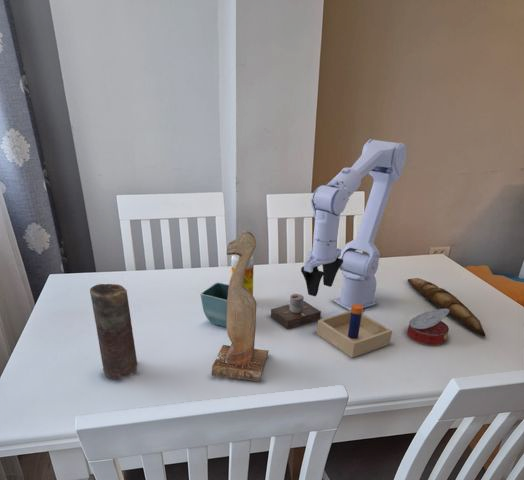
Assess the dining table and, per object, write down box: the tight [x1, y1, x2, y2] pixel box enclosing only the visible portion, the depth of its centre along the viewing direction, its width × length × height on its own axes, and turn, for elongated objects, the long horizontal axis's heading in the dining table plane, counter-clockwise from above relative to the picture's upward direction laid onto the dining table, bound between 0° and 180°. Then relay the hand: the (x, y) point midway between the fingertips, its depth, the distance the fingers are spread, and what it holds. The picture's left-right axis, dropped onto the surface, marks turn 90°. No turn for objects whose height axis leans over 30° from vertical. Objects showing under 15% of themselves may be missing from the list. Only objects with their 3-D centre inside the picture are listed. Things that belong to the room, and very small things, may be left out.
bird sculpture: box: [210, 230, 270, 382], centre depth 101 cm, size 11×12×32 cm
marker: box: [348, 304, 364, 339], centre depth 118 cm, size 3×3×8 cm
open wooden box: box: [316, 310, 393, 359], centre depth 120 cm, size 13×14×4 cm
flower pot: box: [200, 282, 229, 328], centre depth 125 cm, size 9×9×9 cm
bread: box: [407, 277, 486, 337], centre depth 137 cm, size 38×5×5 cm, turn 16°
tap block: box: [270, 300, 322, 330], centre depth 129 cm, size 11×8×3 cm
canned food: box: [406, 308, 450, 346], centre depth 122 cm, size 11×10×10 cm
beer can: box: [230, 254, 255, 296], centre depth 133 cm, size 6×6×15 cm
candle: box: [89, 283, 138, 380], centre depth 101 cm, size 8×7×20 cm
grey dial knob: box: [289, 293, 305, 313], centre depth 128 cm, size 4×4×4 cm
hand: (320, 290), depth 121 cm, fingers open, 7 cm apart
